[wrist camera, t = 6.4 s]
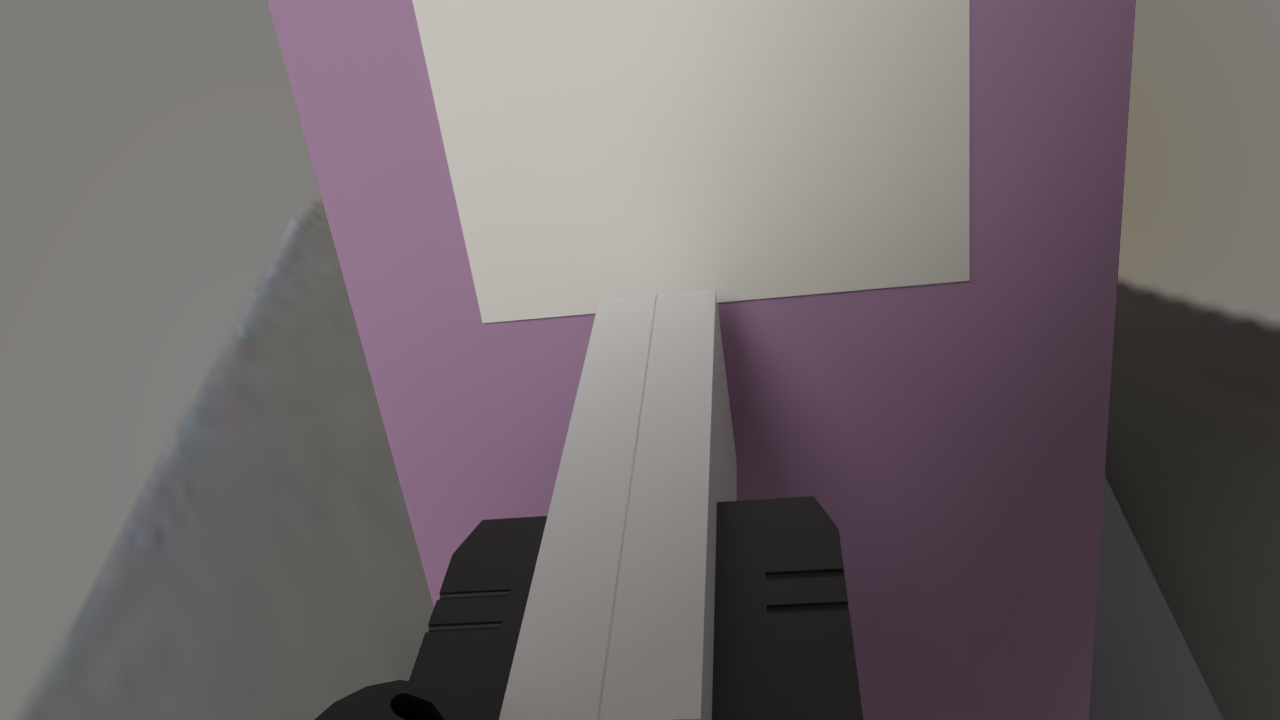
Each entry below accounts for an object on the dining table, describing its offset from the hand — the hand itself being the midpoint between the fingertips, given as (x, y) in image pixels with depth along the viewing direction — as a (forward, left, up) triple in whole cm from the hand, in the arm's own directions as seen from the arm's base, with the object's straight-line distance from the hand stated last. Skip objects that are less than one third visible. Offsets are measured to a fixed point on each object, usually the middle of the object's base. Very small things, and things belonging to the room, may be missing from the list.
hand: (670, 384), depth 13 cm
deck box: (-1, 0, -8) cm, 8 cm away
